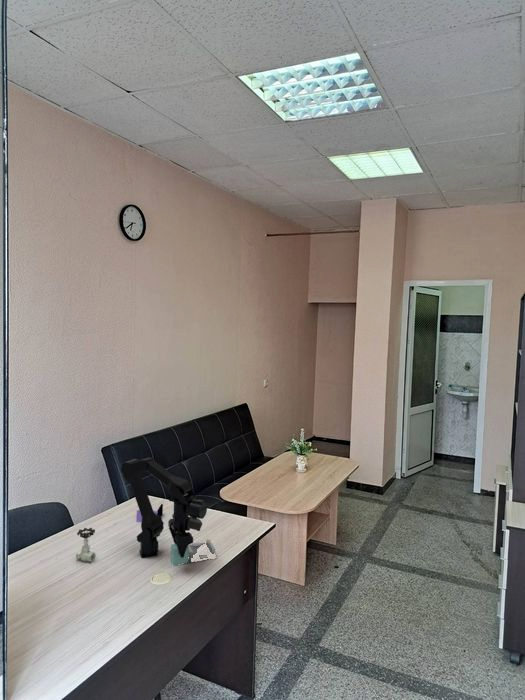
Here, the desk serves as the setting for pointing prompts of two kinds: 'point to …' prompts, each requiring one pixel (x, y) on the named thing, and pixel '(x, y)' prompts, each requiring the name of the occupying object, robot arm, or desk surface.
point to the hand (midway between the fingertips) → (179, 551)
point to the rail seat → (195, 546)
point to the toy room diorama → (158, 512)
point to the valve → (85, 546)
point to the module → (178, 555)
